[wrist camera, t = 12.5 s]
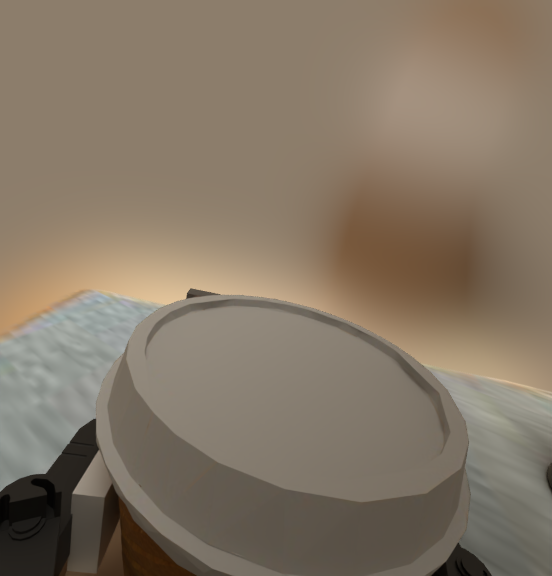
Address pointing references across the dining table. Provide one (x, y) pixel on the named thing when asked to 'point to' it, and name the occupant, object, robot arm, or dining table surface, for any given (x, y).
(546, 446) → the dining table surface
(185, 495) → the disposable coffee cup
